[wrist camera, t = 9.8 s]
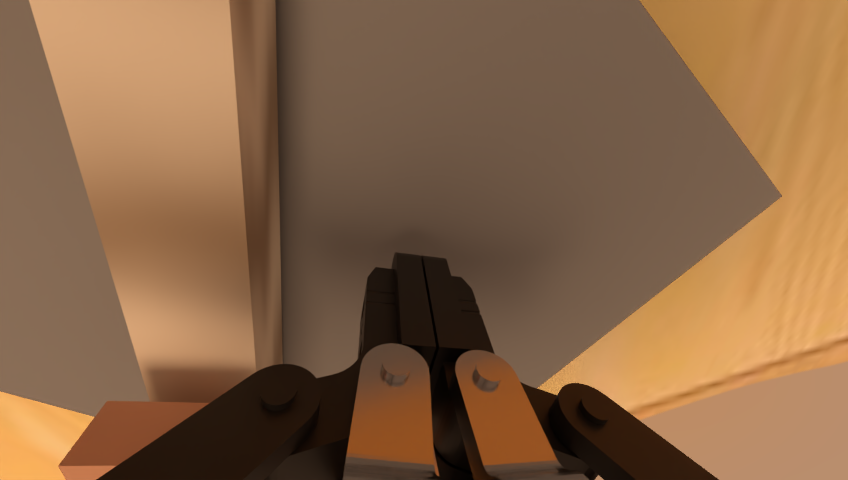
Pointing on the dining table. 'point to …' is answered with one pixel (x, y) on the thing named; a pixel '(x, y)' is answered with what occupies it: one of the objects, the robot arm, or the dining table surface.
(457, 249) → the board
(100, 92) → the arm link
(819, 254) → the dining table surface
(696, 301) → the dining table surface
